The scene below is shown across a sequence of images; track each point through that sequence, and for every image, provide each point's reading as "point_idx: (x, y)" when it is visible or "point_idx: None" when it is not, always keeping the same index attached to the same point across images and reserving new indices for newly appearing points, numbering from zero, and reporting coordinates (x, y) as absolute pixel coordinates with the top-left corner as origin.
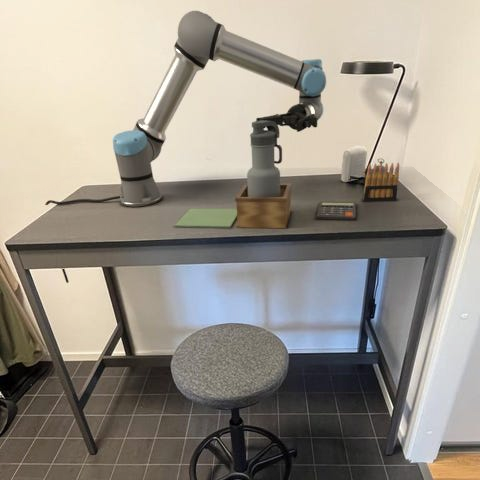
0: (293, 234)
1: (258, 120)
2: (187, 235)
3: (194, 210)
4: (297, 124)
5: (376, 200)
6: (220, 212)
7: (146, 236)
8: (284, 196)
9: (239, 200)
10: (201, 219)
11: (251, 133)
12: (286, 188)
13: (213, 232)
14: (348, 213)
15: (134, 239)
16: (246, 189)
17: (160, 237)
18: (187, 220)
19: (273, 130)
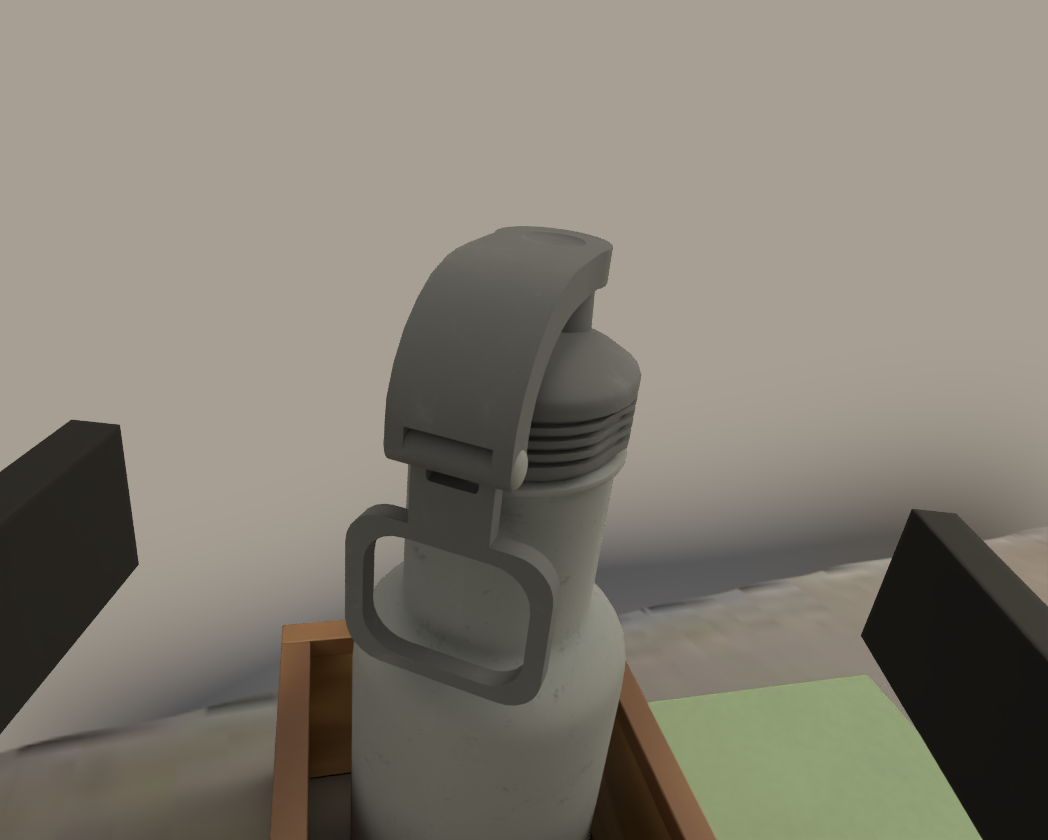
0: (242, 703)
1: (1020, 599)
2: (727, 622)
3: None
4: (113, 468)
5: None
6: None
7: (863, 594)
8: (299, 651)
9: None
10: (820, 761)
11: (617, 344)
12: (303, 820)
13: (646, 661)
14: None
15: (872, 571)
16: (662, 812)
17: (806, 594)
18: (874, 735)
19: (460, 400)
